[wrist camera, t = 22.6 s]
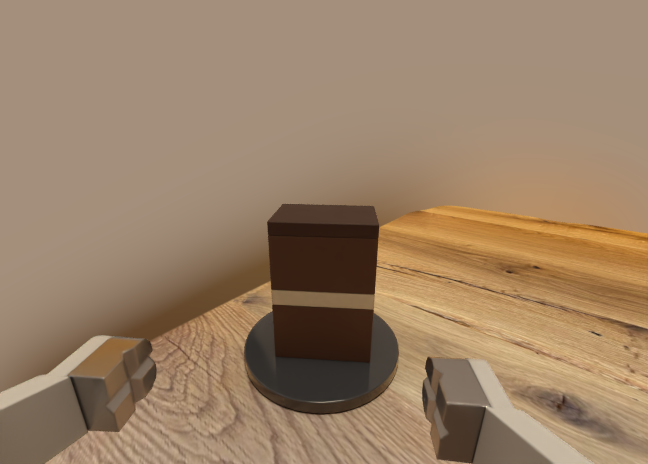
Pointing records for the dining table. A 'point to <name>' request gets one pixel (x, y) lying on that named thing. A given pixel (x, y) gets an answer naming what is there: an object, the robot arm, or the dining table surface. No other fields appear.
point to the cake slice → (323, 280)
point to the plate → (320, 372)
